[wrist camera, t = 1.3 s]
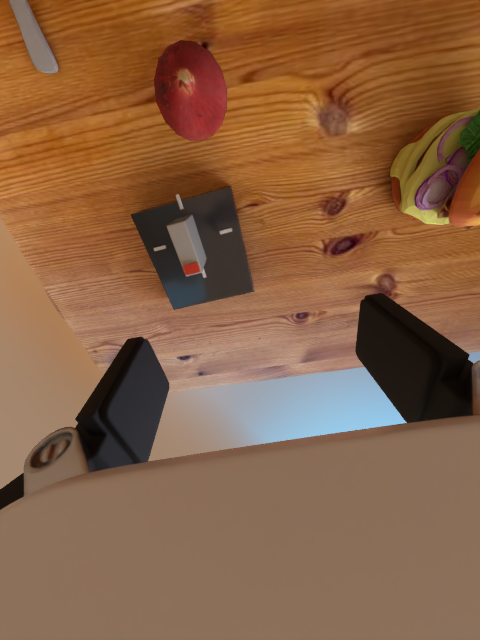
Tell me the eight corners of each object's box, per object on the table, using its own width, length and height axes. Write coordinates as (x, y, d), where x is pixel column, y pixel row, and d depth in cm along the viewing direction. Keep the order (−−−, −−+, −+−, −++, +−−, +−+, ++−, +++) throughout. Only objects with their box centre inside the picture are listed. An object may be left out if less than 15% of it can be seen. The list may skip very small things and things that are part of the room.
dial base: (137, 205, 26) (126, 208, 24) (229, 179, 25) (229, 179, 22) (178, 299, 33) (173, 310, 30) (252, 282, 32) (254, 292, 29)
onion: (171, 144, 23) (145, 130, 17) (162, 62, 20) (127, 5, 13) (227, 146, 24) (225, 134, 17) (228, 66, 20) (225, 12, 14)
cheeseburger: (416, 93, 22) (563, 52, 14) (481, 129, 25) (626, 113, 17) (364, 208, 27) (449, 227, 19) (424, 224, 30) (516, 246, 22)
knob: (176, 218, 24) (165, 226, 20) (192, 214, 24) (184, 221, 20) (192, 262, 27) (185, 277, 23) (206, 259, 27) (202, 273, 23)
